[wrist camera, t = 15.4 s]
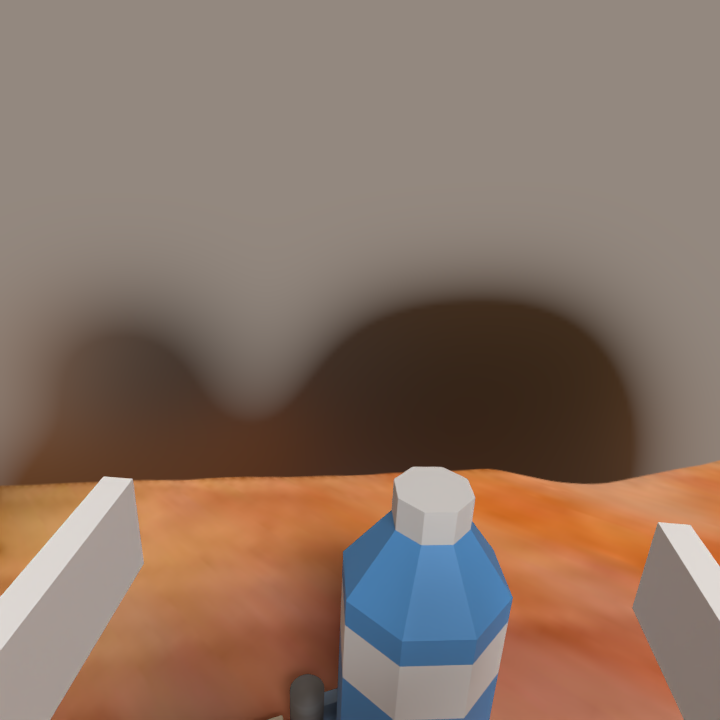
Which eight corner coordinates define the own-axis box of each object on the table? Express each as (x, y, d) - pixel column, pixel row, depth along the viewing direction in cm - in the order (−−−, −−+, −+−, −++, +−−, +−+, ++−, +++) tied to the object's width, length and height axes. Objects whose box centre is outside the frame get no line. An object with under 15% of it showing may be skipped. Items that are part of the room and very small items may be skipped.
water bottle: (368, 918, 33) (399, 578, 23) (308, 763, 40) (312, 460, 31) (499, 838, 37) (571, 520, 27) (421, 711, 44) (456, 428, 35)
